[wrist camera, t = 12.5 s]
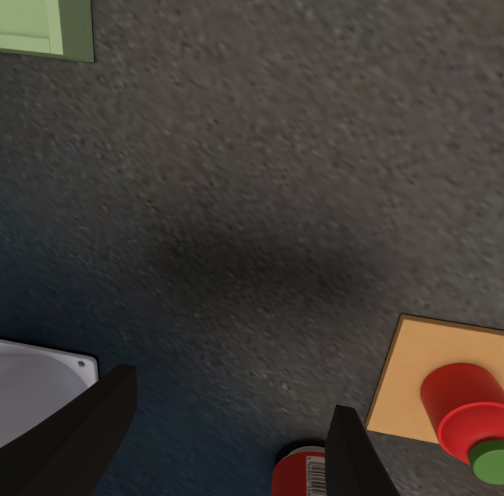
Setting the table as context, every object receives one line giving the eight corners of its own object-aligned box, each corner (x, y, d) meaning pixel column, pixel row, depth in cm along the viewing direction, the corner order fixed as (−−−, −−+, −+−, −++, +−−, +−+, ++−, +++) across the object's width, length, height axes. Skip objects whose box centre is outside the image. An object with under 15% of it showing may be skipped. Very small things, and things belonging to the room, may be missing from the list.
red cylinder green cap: (411, 410, 22) (439, 487, 17) (432, 356, 20) (469, 426, 16) (481, 423, 22) (529, 506, 17) (509, 370, 20) (570, 445, 15)
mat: (364, 422, 24) (366, 430, 23) (400, 313, 20) (403, 319, 20) (500, 448, 23) (505, 457, 22) (561, 340, 19) (569, 346, 19)
